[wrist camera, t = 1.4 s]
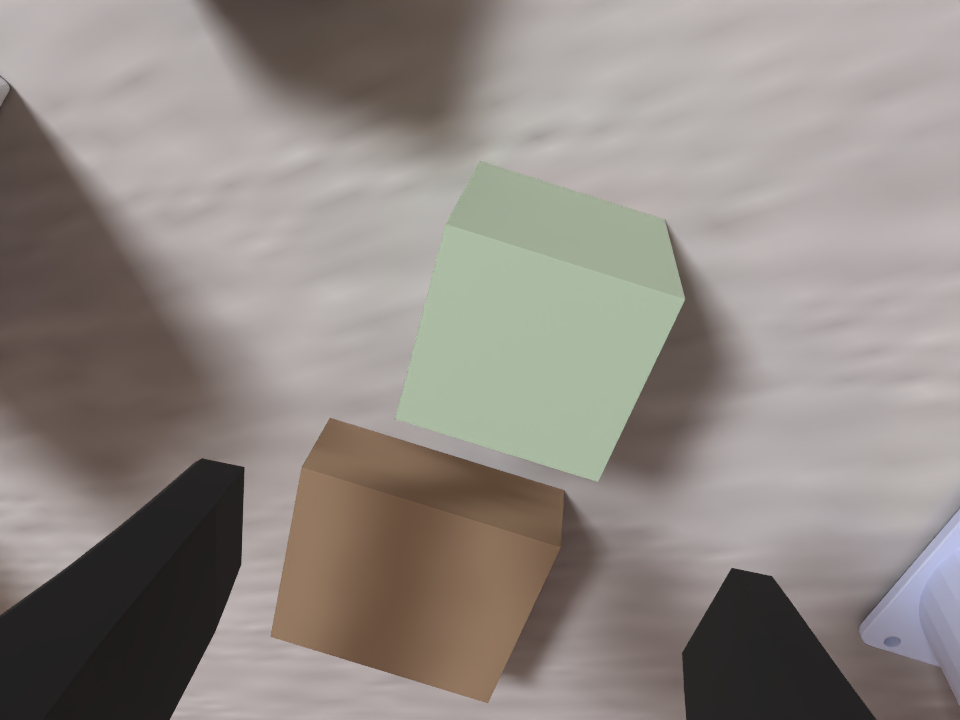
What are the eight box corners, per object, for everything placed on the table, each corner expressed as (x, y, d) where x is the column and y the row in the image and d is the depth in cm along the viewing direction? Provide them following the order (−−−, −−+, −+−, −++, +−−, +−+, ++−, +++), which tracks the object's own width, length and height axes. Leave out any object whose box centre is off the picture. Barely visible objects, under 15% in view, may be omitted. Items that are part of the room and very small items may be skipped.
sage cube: (664, 218, 19) (685, 299, 14) (597, 373, 21) (597, 481, 17) (480, 160, 18) (445, 224, 14) (435, 323, 21) (395, 418, 17)
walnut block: (564, 482, 24) (560, 546, 21) (497, 633, 28) (487, 703, 25) (334, 411, 24) (301, 467, 21) (301, 572, 28) (270, 636, 25)
